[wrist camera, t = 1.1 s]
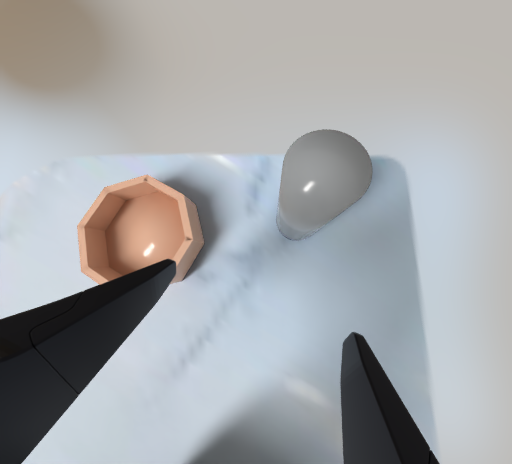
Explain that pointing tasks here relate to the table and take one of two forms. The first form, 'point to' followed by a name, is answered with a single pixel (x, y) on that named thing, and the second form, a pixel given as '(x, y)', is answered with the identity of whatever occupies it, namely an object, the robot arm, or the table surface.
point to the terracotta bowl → (138, 230)
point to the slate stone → (320, 181)
